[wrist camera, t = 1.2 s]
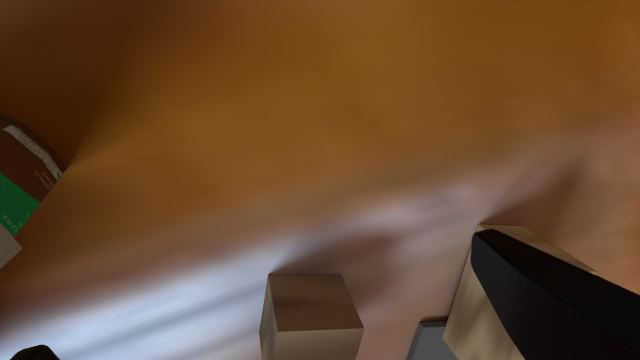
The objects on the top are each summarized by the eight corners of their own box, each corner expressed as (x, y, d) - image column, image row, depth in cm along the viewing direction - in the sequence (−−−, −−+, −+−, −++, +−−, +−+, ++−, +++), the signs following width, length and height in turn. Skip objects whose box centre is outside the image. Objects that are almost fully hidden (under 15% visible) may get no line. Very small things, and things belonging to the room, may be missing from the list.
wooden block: (484, 335, 31) (540, 398, 26) (442, 337, 30) (491, 404, 24) (523, 226, 28) (596, 271, 22) (478, 224, 27) (544, 271, 21)
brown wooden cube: (331, 329, 28) (351, 389, 23) (259, 332, 26) (266, 397, 22) (344, 273, 26) (369, 328, 22) (267, 273, 25) (277, 332, 20)
